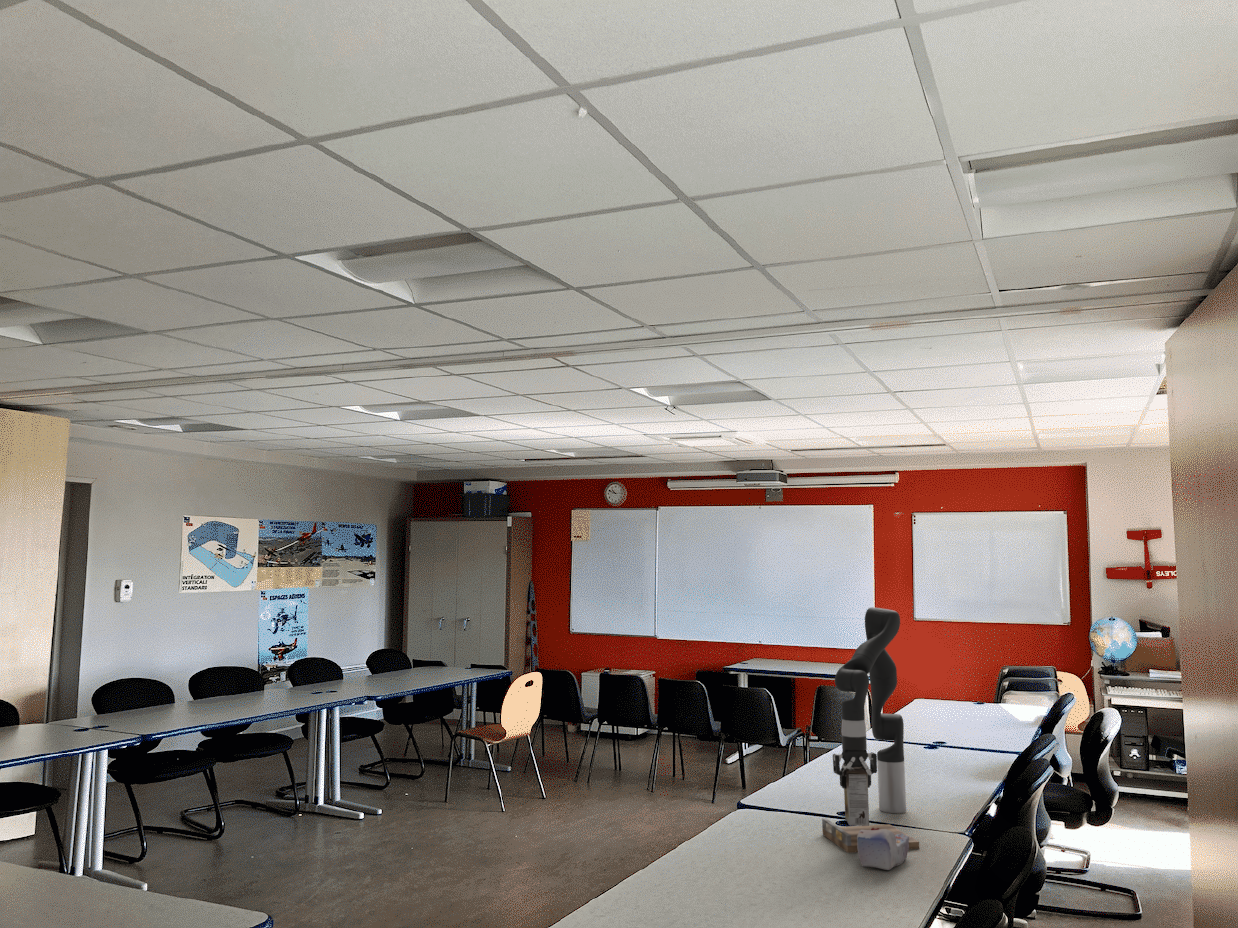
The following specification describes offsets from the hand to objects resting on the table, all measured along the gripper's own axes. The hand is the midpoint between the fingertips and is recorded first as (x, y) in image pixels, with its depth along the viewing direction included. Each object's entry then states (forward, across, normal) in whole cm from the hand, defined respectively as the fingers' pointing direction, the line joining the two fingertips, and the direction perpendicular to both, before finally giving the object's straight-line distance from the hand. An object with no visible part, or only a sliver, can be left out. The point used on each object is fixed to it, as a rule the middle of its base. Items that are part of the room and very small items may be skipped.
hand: (855, 787), depth 292 cm
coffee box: (+11, 0, 0) cm, 11 cm away
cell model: (+17, -1, -21) cm, 27 cm away
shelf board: (+16, +4, 0) cm, 17 cm away
